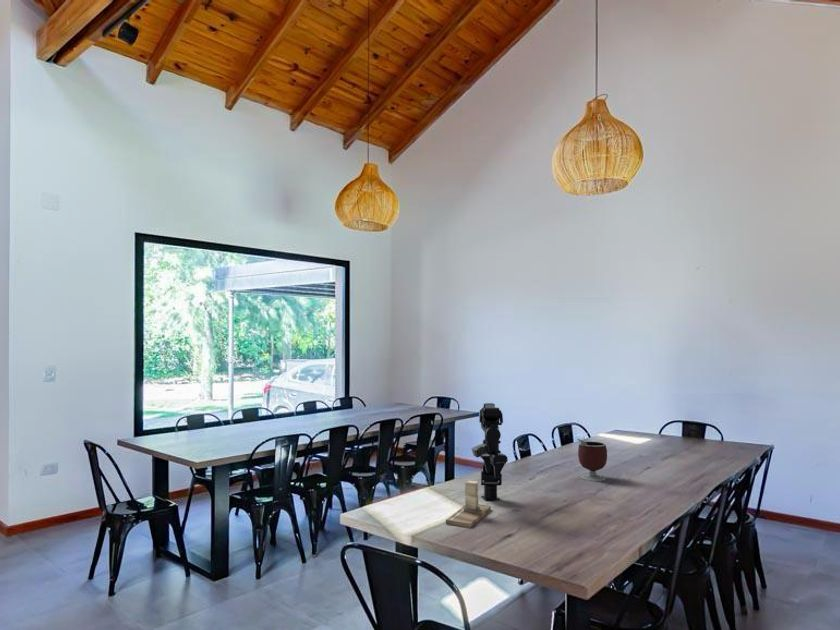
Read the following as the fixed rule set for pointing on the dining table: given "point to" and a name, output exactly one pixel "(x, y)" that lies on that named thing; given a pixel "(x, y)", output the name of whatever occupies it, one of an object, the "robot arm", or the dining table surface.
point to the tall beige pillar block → (471, 497)
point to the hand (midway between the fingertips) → (492, 475)
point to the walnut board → (467, 516)
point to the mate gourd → (592, 458)
